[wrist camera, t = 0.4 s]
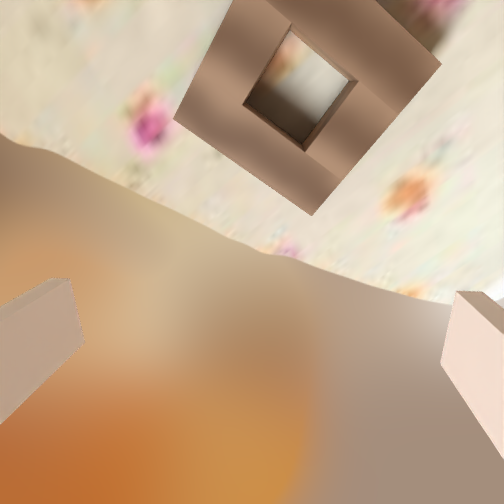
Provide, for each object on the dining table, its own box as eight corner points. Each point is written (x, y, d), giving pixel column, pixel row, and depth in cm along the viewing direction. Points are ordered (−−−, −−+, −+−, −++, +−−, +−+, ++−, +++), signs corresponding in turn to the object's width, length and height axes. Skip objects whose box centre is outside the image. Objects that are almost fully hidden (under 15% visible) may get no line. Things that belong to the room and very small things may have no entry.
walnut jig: (279, -67, 25) (279, -91, 21) (421, 65, 28) (442, 63, 25) (184, 114, 32) (172, 118, 28) (308, 202, 35) (311, 216, 32)
